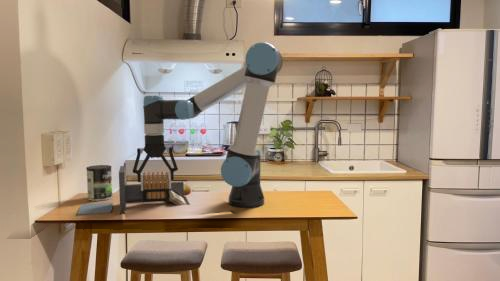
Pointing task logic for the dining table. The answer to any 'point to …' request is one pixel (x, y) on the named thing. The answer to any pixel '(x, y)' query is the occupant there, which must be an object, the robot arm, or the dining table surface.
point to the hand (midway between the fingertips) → (156, 189)
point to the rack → (135, 193)
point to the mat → (95, 208)
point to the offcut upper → (177, 197)
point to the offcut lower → (173, 201)
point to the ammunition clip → (156, 188)
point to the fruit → (186, 189)
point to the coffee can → (99, 182)
